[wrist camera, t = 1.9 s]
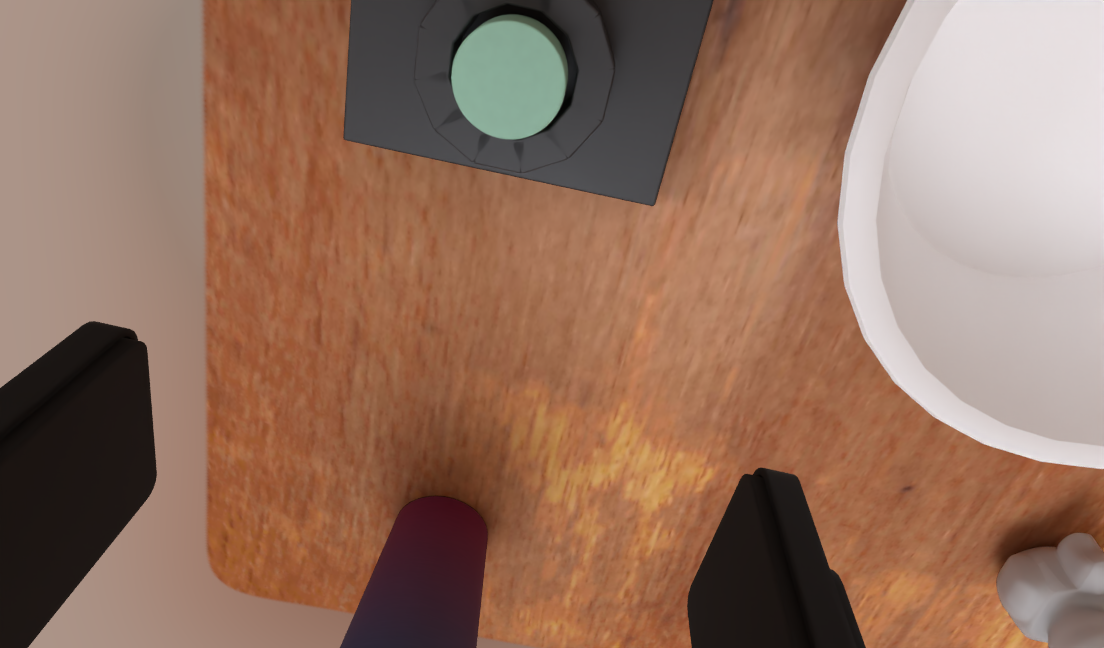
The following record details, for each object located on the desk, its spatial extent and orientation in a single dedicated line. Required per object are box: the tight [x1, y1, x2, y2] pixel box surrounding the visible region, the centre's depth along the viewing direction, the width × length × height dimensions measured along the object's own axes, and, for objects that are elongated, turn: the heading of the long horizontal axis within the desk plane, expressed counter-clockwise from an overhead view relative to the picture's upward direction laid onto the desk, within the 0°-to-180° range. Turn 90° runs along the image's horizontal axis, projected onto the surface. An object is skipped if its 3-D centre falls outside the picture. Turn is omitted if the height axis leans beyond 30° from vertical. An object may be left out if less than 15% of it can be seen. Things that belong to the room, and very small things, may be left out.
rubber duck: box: [996, 533, 1104, 648], centre depth 33 cm, size 5×7×8 cm
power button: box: [451, 14, 568, 140], centre depth 23 cm, size 4×4×2 cm
